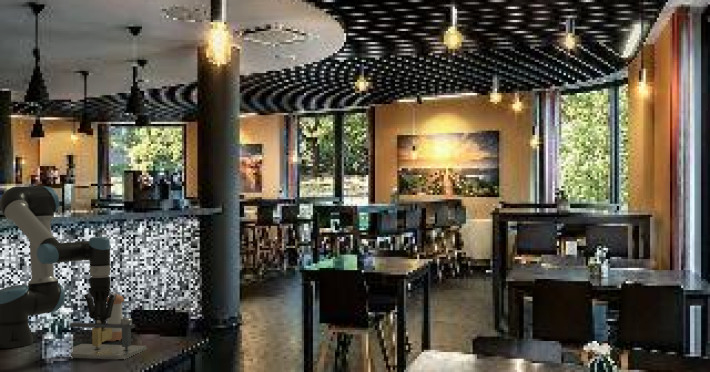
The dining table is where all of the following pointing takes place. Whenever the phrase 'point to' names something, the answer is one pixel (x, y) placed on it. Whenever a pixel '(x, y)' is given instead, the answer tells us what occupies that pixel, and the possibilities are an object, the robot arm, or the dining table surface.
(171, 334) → the dining table surface
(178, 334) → the dining table surface
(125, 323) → the divider beam
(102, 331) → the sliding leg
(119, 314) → the salt shaker
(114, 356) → the bolt plate
